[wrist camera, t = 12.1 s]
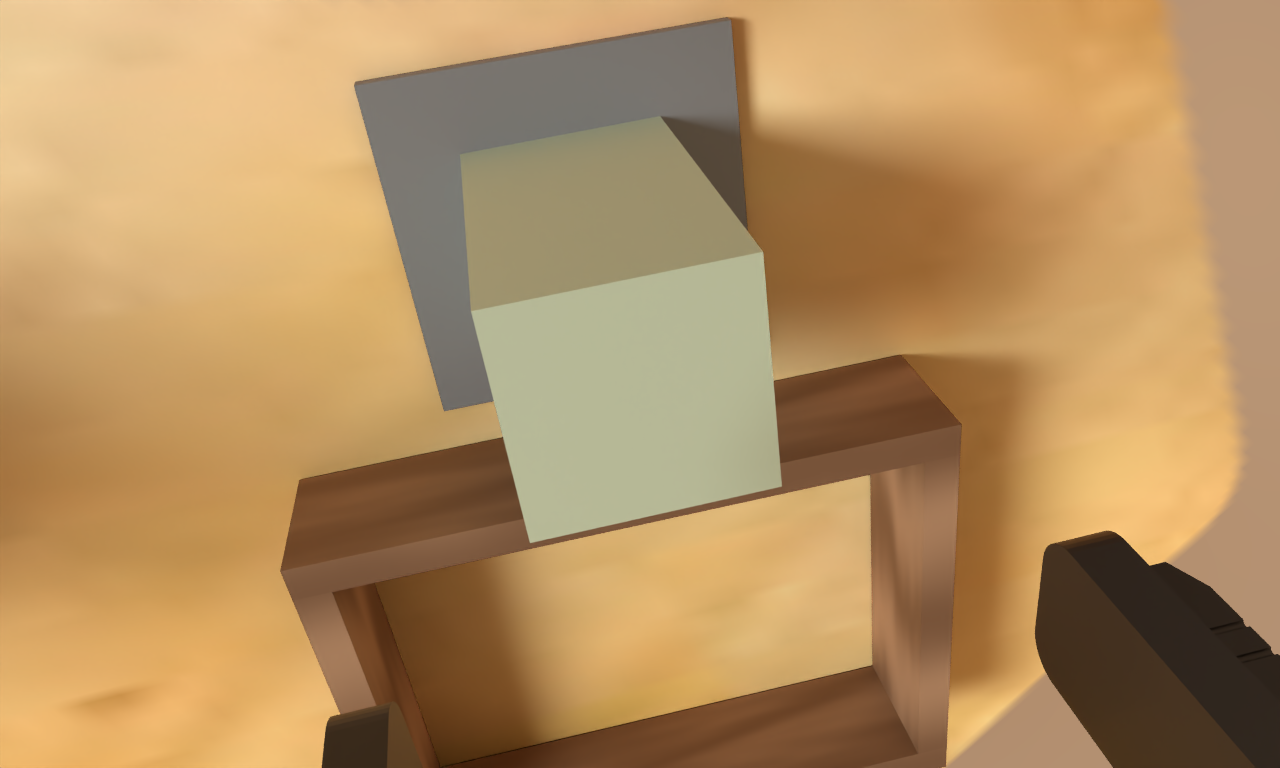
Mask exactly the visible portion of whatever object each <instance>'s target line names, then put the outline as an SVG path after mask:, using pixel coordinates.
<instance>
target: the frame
mask: <svg viewBox="0 0 1280 768" xmlns="http://www.w3.org/2000/svg"><path fill="white" fill-rule="evenodd" d="M774 393H775V406H776V419H777V431H778V444H779V456H780V469H781V481H782V487H778V488H773V489H769V490H764V491H760V492H755V493H751V494H746V495H742V496H737V497H733V498H729V499H724V500H720V501H715V502H711V503H706V504H702V505H697V506H693V507H689V508H684V509H680V510H675V511H671V512H666V513H662V514H657V515H653V516H648V517H644V518H640V519H635V520H631V521H626V522H622V523H617V524H613V525H608V526H604V527H599V528H595V529H591V530H586V531H582V532H577V533H573V534H568V535H564V536H559V537H555V538H551V539H546V540H542V541H537V542H533V543H530V541H529V537H528V533H527V530H526V526H525V522H524V518H523V514H522V510H521V506H520V502H519V498H518V494H517V490H516V486H515V482H514V478H513V474H512V471H511V467H510V463H509V459H508V455H507V451H506V447H505V443H504V439H503V438H499V439H494V440H490V441H485V442H480V443H475V444H470V445H466V446H461V447H456V448H451V449H446V450H441V451H437V452H432V453H427V454H422V455H417V456H413V457H408V458H403V459H398V460H393V461H389V462H384V463H379V464H374V465H369V466H365V467H360V468H355V469H350V470H345V471H340V472H336V473H331V474H326V475H321V476H316V477H312V478H307V479H302V480H299V485H298V490H297V494H296V499H295V504H294V509H293V513H292V518H291V523H290V528H289V533H288V537H287V542H286V547H285V552H284V556H283V561H282V566H281V571H280V572H281V574H282V576H283V579H284V581H285V583H286V586H287V588H288V591H289V593H290V595H291V598H292V600H293V602H294V605H295V607H296V610H297V612H298V614H299V617H300V619H301V622H302V624H303V626H304V629H305V631H306V633H307V636H308V638H309V641H310V643H311V645H312V648H313V650H314V652H315V655H316V657H317V660H318V662H319V664H320V667H321V669H322V671H323V674H324V676H325V679H326V681H327V683H328V686H329V688H330V690H331V693H332V695H333V698H334V700H335V702H336V705H337V707H338V709H339V712H340V714H344V713H348V712H352V711H356V710H360V709H365V708H369V707H373V706H377V705H381V704H385V703H389V702H393V701H394V702H396V703H397V704H398V706H399V708H400V710H401V713H402V715H403V718H404V720H405V723H406V725H407V728H408V730H409V733H410V736H411V738H412V741H413V743H414V746H415V748H416V751H417V753H418V756H419V759H420V761H421V764H422V766H423V768H440V765H439V762H438V760H437V757H436V754H435V751H434V748H433V746H432V743H431V740H430V737H429V734H428V732H427V729H426V726H425V723H424V720H423V718H422V715H421V712H420V709H419V707H418V704H417V701H416V698H415V695H414V693H413V690H412V687H411V684H410V681H409V679H408V676H407V673H406V670H405V667H404V665H403V662H402V659H401V656H400V654H399V651H398V648H397V645H396V642H395V640H394V637H393V634H392V631H391V628H390V626H389V623H388V620H387V617H386V614H385V612H384V609H383V606H382V603H381V601H380V598H379V595H378V592H377V589H376V587H375V584H374V583H376V582H381V581H385V580H390V579H394V578H399V577H404V576H408V575H413V574H417V573H422V572H427V571H431V570H436V569H440V568H445V567H449V566H454V565H459V564H463V563H468V562H472V561H477V560H481V559H486V558H491V557H495V556H500V555H504V554H509V553H514V552H518V551H523V550H527V549H532V548H536V547H541V546H546V545H550V544H555V543H559V542H564V541H568V540H573V539H578V538H582V537H587V536H591V535H596V534H601V533H605V532H610V531H614V530H619V529H623V528H628V527H633V526H637V525H642V524H646V523H651V522H655V521H660V520H665V519H669V518H674V517H678V516H683V515H688V514H692V513H697V512H701V511H706V510H710V509H715V508H720V507H724V506H729V505H733V504H738V503H742V502H747V501H752V500H756V499H761V498H765V497H770V496H774V495H779V494H784V493H788V492H793V491H797V490H802V489H807V488H811V487H816V486H820V485H825V484H829V483H834V482H839V481H843V480H848V479H852V478H857V477H861V476H866V475H870V480H871V567H872V653H873V666H870V667H866V668H862V669H858V670H853V671H849V672H845V673H841V674H836V675H832V676H828V677H824V678H819V679H815V680H811V681H807V682H803V683H798V684H794V685H790V686H786V687H781V688H777V689H773V690H769V691H764V692H760V693H756V694H752V695H747V696H743V697H739V698H735V699H731V700H726V701H722V702H718V703H714V704H709V705H705V706H701V707H697V708H692V709H688V710H684V711H680V712H675V713H671V714H667V715H663V716H659V717H654V718H650V719H646V720H642V721H637V722H633V723H629V724H625V725H620V726H616V727H612V728H608V729H603V730H599V731H595V732H591V733H587V734H582V735H578V736H574V737H570V738H565V739H561V740H557V741H553V742H548V743H544V744H540V745H536V746H531V747H527V748H523V749H519V750H515V751H510V752H506V753H502V754H498V755H493V756H489V757H485V758H481V759H476V760H472V761H468V762H464V763H460V764H455V765H451V766H447V767H443V768H942V767H946V750H947V728H948V706H949V684H950V663H951V641H952V619H953V597H954V575H955V554H956V532H957V510H958V488H959V466H960V445H961V423H960V422H959V421H958V420H957V419H956V418H955V417H954V415H953V414H952V413H951V412H950V411H949V410H948V408H947V407H946V406H945V405H944V404H943V403H942V402H941V400H940V399H939V398H938V397H937V396H936V395H935V394H934V392H933V391H932V390H931V389H930V388H929V387H928V386H927V384H926V383H925V382H924V381H923V380H922V379H921V378H920V376H919V375H918V374H917V373H916V372H915V371H914V369H913V368H912V367H911V366H910V365H909V364H908V363H907V361H906V360H905V359H904V358H903V357H902V356H901V355H898V356H894V357H889V358H884V359H879V360H874V361H869V362H865V363H860V364H855V365H850V366H845V367H841V368H836V369H831V370H826V371H821V372H817V373H812V374H807V375H802V376H797V377H793V378H788V379H783V380H778V381H774Z"/></svg>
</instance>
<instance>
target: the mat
mask: <svg viewBox="0 0 1280 768" xmlns="http://www.w3.org/2000/svg"><path fill="white" fill-rule="evenodd" d="M354 87H355V91H356V94H357V98H358V102H359V105H360V109H361V113H362V116H363V120H364V123H365V127H366V131H367V134H368V138H369V141H370V145H371V149H372V152H373V156H374V160H375V163H376V167H377V170H378V174H379V178H380V181H381V185H382V188H383V192H384V196H385V199H386V203H387V206H388V210H389V214H390V217H391V221H392V225H393V228H394V232H395V235H396V239H397V243H398V246H399V250H400V253H401V257H402V261H403V264H404V268H405V272H406V275H407V279H408V282H409V286H410V290H411V293H412V297H413V300H414V304H415V308H416V311H417V315H418V319H419V322H420V326H421V329H422V333H423V337H424V340H425V344H426V347H427V351H428V355H429V358H430V362H431V366H432V369H433V373H434V376H435V380H436V384H437V387H438V391H439V394H440V398H441V402H442V405H443V409H444V411H448V410H452V409H457V408H462V407H467V406H472V405H477V404H482V403H487V402H492V401H494V400H493V396H492V392H491V388H490V384H489V380H488V376H487V372H486V368H485V364H484V361H483V357H482V353H481V349H480V345H479V341H478V337H477V333H476V329H475V325H474V321H473V317H472V313H471V304H470V290H469V275H468V261H467V247H466V232H465V218H464V203H463V189H462V174H461V160H460V154H464V153H469V152H474V151H480V150H485V149H490V148H495V147H501V146H506V145H511V144H516V143H522V142H527V141H532V140H537V139H543V138H548V137H553V136H558V135H564V134H569V133H574V132H580V131H585V130H590V129H595V128H601V127H606V126H611V125H616V124H622V123H627V122H632V121H637V120H643V119H648V118H653V117H658V116H660V117H661V118H662V119H663V121H664V122H665V123H666V125H667V126H668V127H669V129H670V130H671V131H672V132H673V134H674V135H675V136H676V138H677V139H678V140H679V142H680V143H681V144H682V146H683V147H684V148H685V150H686V151H687V152H688V154H689V155H690V156H691V157H692V159H693V160H694V161H695V163H696V164H697V165H698V167H699V168H700V169H701V171H702V172H703V173H704V175H705V176H706V177H707V179H708V180H709V181H710V182H711V184H712V185H713V186H714V188H715V189H716V190H717V192H718V193H719V194H720V196H721V197H722V198H723V200H724V201H725V202H726V204H727V205H728V206H729V207H730V209H731V210H732V211H733V213H734V214H735V215H736V217H737V218H738V219H739V221H740V222H741V223H742V225H743V226H744V227H745V228H746V230H747V231H748V229H747V216H746V203H745V191H744V178H743V165H742V152H741V140H740V127H739V114H738V102H737V89H736V76H735V64H734V51H733V38H732V26H731V20H730V19H729V18H727V17H726V18H720V19H714V20H709V21H703V22H697V23H691V24H686V25H680V26H674V27H668V28H663V29H657V30H651V31H645V32H640V33H634V34H628V35H622V36H617V37H611V38H605V39H599V40H594V41H588V42H582V43H576V44H571V45H565V46H559V47H553V48H548V49H542V50H536V51H530V52H525V53H519V54H513V55H507V56H502V57H496V58H490V59H484V60H479V61H473V62H467V63H461V64H456V65H450V66H444V67H438V68H432V69H427V70H421V71H415V72H409V73H404V74H398V75H392V76H386V77H381V78H375V79H369V80H363V81H358V82H355V85H354Z"/></svg>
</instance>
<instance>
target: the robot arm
mask: <svg viewBox="0 0 1280 768" xmlns="http://www.w3.org/2000/svg"><path fill="white" fill-rule="evenodd" d="M1035 639H1036V645H1037V649H1038V653H1039V656H1040V659H1041V662H1042V665H1043V667H1044V669H1045V671H1046V673H1047V675H1048V677H1049V679H1050V680H1051V682H1052V683H1053V684H1054V686H1055V687H1056V689H1057V690H1058V691H1059V693H1060V694H1061V696H1062V697H1063V698H1064V700H1065V701H1066V703H1067V704H1068V705H1069V706H1070V708H1071V710H1072V711H1073V712H1074V714H1075V715H1076V716H1077V718H1078V719H1079V721H1080V722H1081V723H1082V725H1083V726H1084V728H1085V729H1086V730H1087V732H1088V733H1089V734H1090V736H1091V737H1092V739H1093V740H1094V742H1095V743H1096V744H1097V746H1098V747H1099V748H1100V750H1101V751H1102V753H1103V754H1104V755H1105V757H1106V758H1107V759H1108V761H1109V762H1110V764H1111V765H1112V767H1113V768H1280V655H1278V654H1276V655H1274V654H1273V653H1272V651H1271V647H1270V646H1269V645H1268V644H1267V643H1266V642H1265V641H1264V640H1263V639H1262V638H1261V637H1260V636H1259V635H1258V634H1257V633H1256V632H1255V631H1254V630H1253V629H1252V628H1251V627H1246V626H1245V624H1244V622H1243V619H1242V618H1241V617H1240V616H1239V615H1238V614H1237V613H1236V612H1235V611H1234V610H1233V609H1232V608H1231V607H1230V606H1229V605H1228V604H1227V603H1226V602H1225V601H1224V600H1223V599H1222V598H1221V597H1220V596H1219V595H1218V594H1217V593H1216V592H1215V591H1214V590H1213V589H1212V588H1211V587H1210V586H1208V585H1206V584H1204V583H1202V582H1201V581H1199V580H1197V579H1195V578H1193V577H1192V576H1190V575H1188V574H1186V573H1184V572H1183V571H1181V570H1179V569H1177V568H1175V567H1174V566H1172V565H1170V564H1168V563H1166V562H1163V563H1159V564H1155V565H1151V566H1149V565H1148V564H1147V563H1146V562H1145V561H1144V560H1143V559H1142V558H1141V556H1140V555H1139V554H1138V553H1137V552H1136V551H1135V550H1134V549H1133V548H1132V547H1131V546H1130V545H1129V544H1128V543H1127V542H1126V541H1125V540H1124V539H1123V538H1122V537H1121V536H1120V535H1118V534H1117V533H1115V532H1112V531H1103V532H1099V533H1095V534H1091V535H1087V536H1083V537H1079V538H1074V539H1070V540H1066V541H1062V542H1058V543H1054V544H1050V545H1049V546H1048V547H1047V548H1046V550H1045V552H1044V556H1043V564H1042V573H1041V582H1040V591H1039V600H1038V608H1037V617H1036V626H1035ZM322 768H423V766H422V764H421V761H420V759H419V756H418V753H417V751H416V748H415V746H414V743H413V741H412V738H411V736H410V733H409V730H408V728H407V725H406V723H405V720H404V718H403V715H402V713H401V710H400V708H399V706H398V704H397V703H396V702H394V701H393V702H389V703H385V704H381V705H377V706H373V707H369V708H365V709H360V710H356V711H352V712H348V713H344V714H340V715H336V716H332V717H330V718H329V720H328V722H327V726H326V732H325V741H324V751H323V761H322Z"/></svg>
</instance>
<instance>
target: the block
mask: <svg viewBox="0 0 1280 768" xmlns="http://www.w3.org/2000/svg"><path fill="white" fill-rule="evenodd" d="M460 160H461V174H462V189H463V203H464V218H465V232H466V247H467V261H468V275H469V290H470V304H471V313H472V317H473V321H474V325H475V329H476V333H477V337H478V341H479V345H480V349H481V353H482V357H483V361H484V364H485V368H486V372H487V376H488V380H489V384H490V388H491V392H492V396H493V400H494V404H495V408H496V412H497V416H498V419H499V423H500V427H501V431H502V435H503V439H504V443H505V447H506V451H507V455H508V459H509V463H510V467H511V471H512V474H513V478H514V482H515V486H516V490H517V494H518V498H519V502H520V506H521V510H522V514H523V518H524V522H525V526H526V530H527V533H528V537H529V541H530V543H533V542H537V541H542V540H546V539H551V538H555V537H559V536H564V535H568V534H573V533H577V532H582V531H586V530H591V529H595V528H599V527H604V526H608V525H613V524H617V523H622V522H626V521H631V520H635V519H640V518H644V517H648V516H653V515H657V514H662V513H666V512H671V511H675V510H680V509H684V508H689V507H693V506H697V505H702V504H706V503H711V502H715V501H720V500H724V499H729V498H733V497H737V496H742V495H746V494H751V493H755V492H760V491H764V490H769V489H773V488H778V487H782V481H781V469H780V456H779V444H778V431H777V419H776V406H775V393H774V381H773V368H772V356H771V343H770V331H769V318H768V306H767V293H766V281H765V268H764V256H763V251H762V250H761V248H760V247H759V246H758V244H757V243H756V242H755V240H754V239H753V238H752V236H751V235H750V234H749V232H748V231H747V230H746V228H745V227H744V226H743V225H742V223H741V222H740V221H739V219H738V218H737V217H736V215H735V214H734V213H733V211H732V210H731V209H730V207H729V206H728V205H727V204H726V202H725V201H724V200H723V198H722V197H721V196H720V194H719V193H718V192H717V190H716V189H715V188H714V186H713V185H712V184H711V182H710V181H709V180H708V179H707V177H706V176H705V175H704V173H703V172H702V171H701V169H700V168H699V167H698V165H697V164H696V163H695V161H694V160H693V159H692V157H691V156H690V155H689V154H688V152H687V151H686V150H685V148H684V147H683V146H682V144H681V143H680V142H679V140H678V139H677V138H676V136H675V135H674V134H673V132H672V131H671V130H670V129H669V127H668V126H667V125H666V123H665V122H664V121H663V119H662V118H661V117H660V116H658V117H653V118H648V119H643V120H637V121H632V122H627V123H622V124H616V125H611V126H606V127H601V128H595V129H590V130H585V131H580V132H574V133H569V134H564V135H558V136H553V137H548V138H543V139H537V140H532V141H527V142H522V143H516V144H511V145H506V146H501V147H495V148H490V149H485V150H480V151H474V152H469V153H464V154H460Z"/></svg>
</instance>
